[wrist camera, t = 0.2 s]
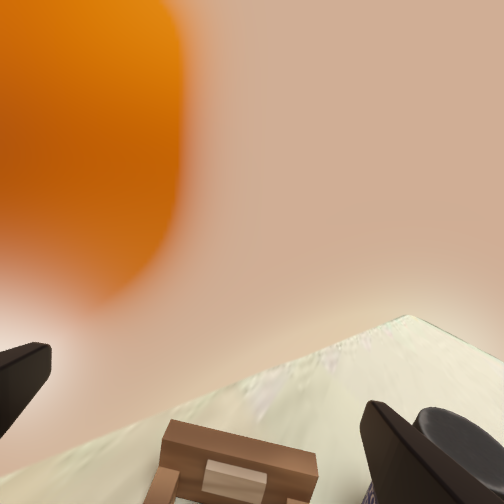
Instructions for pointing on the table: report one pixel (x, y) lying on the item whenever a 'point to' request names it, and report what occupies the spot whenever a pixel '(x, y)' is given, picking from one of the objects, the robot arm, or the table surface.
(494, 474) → the pill bottle
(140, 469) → the table surface
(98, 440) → the table surface
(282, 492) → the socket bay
